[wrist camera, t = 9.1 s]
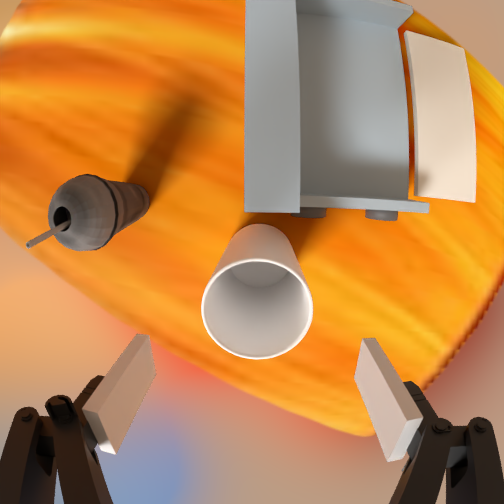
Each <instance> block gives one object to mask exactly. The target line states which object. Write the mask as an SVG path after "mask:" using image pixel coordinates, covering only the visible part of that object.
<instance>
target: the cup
mask: <svg viewBox="0 0 504 504" xmlns="http://www.w3.org/2000/svg"><path fill="white" fill-rule="evenodd" d="M201 309H202V318H203V322H204V325H205V327H206V329H207V331H208V333H209V334H210V336H211V337H212V339H213V340H214V341H215V342H216V343H217V344H218V345H219V346H221V347H222V348H223V349H225V350H226V351H228V352H230V353H232V354H234V355H237V356H240V357H244V358H249V359H266V358H272V357H275V356H278V355H281V354H283V353H285V352H287V351H289V350H290V349H292V348H293V347H294V346H296V345H297V344H298V343H299V342H300V341H301V340H302V338H303V337H304V336H305V334H306V333H307V331H308V329H309V327H310V324H311V321H312V316H313V302H312V296H311V293H310V290H309V287H308V285H307V282H306V280H305V277H304V275H303V272H302V270H301V268H300V265H299V263H298V260H297V258H296V255H295V253H294V251H293V248H292V246H291V244H290V242H289V240H288V238H287V237H286V236H285V235H284V233H282V232H281V231H280V230H279V229H277V228H275V227H273V226H270V225H267V224H252V225H249V226H246V227H244V228H242V229H241V230H239V231H238V232H237V233H236V234H235V235H234V236H233V237H232V239H231V240H230V242H229V244H228V246H227V248H226V249H225V251H224V253H223V255H222V257H221V259H220V261H219V263H218V265H217V267H216V269H215V271H214V272H213V274H212V276H211V278H210V280H209V282H208V284H207V286H206V289H205V291H204V294H203V299H202V307H201Z"/></svg>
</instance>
